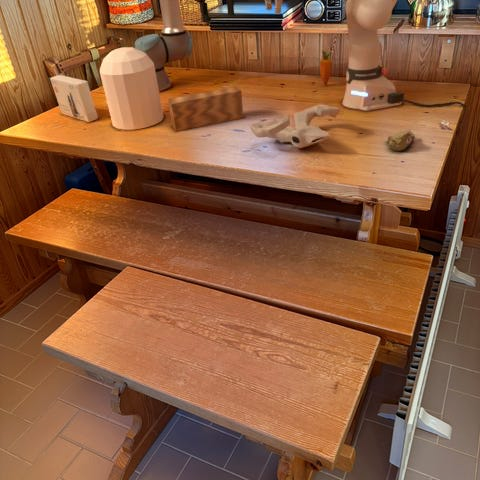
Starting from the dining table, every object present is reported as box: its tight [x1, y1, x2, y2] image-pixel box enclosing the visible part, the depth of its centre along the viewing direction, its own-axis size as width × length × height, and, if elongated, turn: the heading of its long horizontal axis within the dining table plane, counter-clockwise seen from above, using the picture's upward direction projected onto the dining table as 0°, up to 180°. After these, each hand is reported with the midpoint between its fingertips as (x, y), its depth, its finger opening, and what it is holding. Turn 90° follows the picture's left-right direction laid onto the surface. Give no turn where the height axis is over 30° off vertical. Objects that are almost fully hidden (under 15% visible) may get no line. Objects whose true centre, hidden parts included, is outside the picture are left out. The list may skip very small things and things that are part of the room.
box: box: [167, 86, 244, 132], centre depth 177 cm, size 27×6×11 cm, turn 109°
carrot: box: [319, 49, 333, 86], centre depth 201 cm, size 5×5×15 cm
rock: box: [387, 129, 416, 152], centre depth 146 cm, size 11×6×10 cm
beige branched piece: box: [250, 104, 341, 149], centre depth 155 cm, size 28×26×12 cm
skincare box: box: [49, 74, 99, 123], centre depth 193 cm, size 21×5×16 cm, turn 49°
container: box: [99, 46, 164, 131], centre depth 180 cm, size 21×21×28 cm
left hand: (218, 18), depth 173 cm, fingers open, 13 cm apart
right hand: (273, 11), depth 162 cm, fingers open, 8 cm apart
